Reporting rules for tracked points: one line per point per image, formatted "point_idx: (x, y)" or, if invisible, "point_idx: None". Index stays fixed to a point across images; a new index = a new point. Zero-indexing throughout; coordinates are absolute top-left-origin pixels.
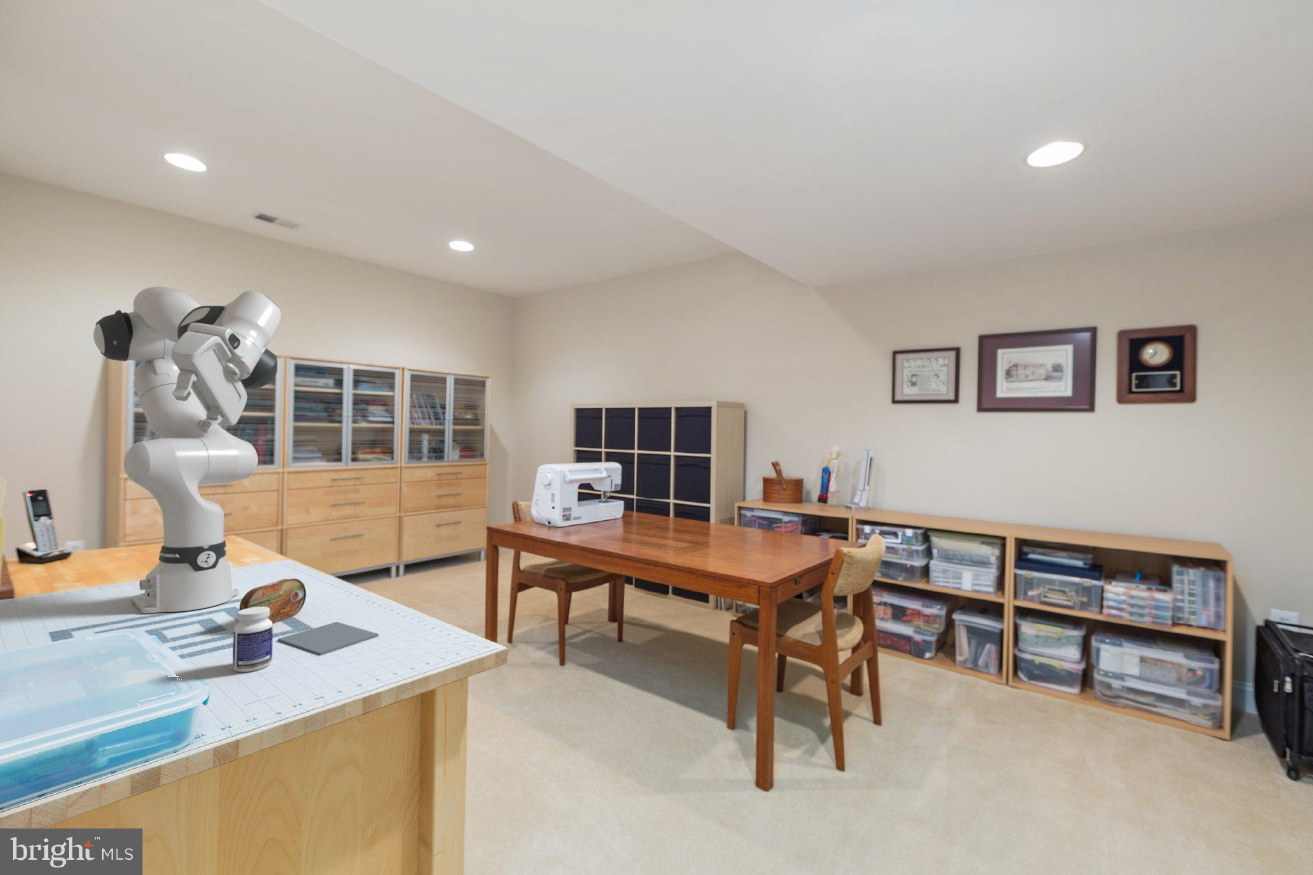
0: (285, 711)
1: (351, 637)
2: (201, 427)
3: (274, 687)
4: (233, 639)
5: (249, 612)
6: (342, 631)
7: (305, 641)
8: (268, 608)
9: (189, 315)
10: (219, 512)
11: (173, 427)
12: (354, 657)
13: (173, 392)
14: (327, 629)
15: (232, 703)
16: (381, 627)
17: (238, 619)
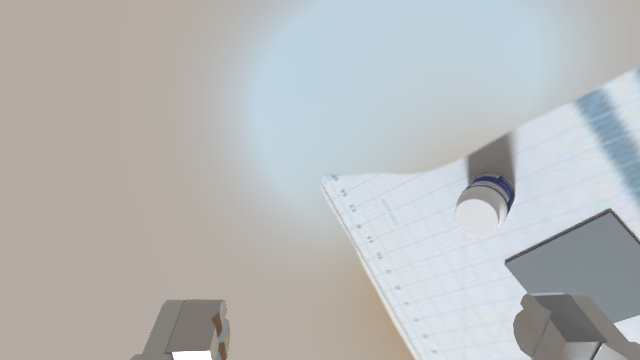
0: (360, 231)
1: None
2: (519, 319)
3: (415, 219)
4: (473, 184)
5: (463, 214)
6: (607, 299)
7: (571, 249)
8: (478, 236)
9: None
10: None
11: None
12: (481, 295)
13: (161, 311)
14: (634, 281)
15: (388, 188)
16: None
17: (464, 198)
